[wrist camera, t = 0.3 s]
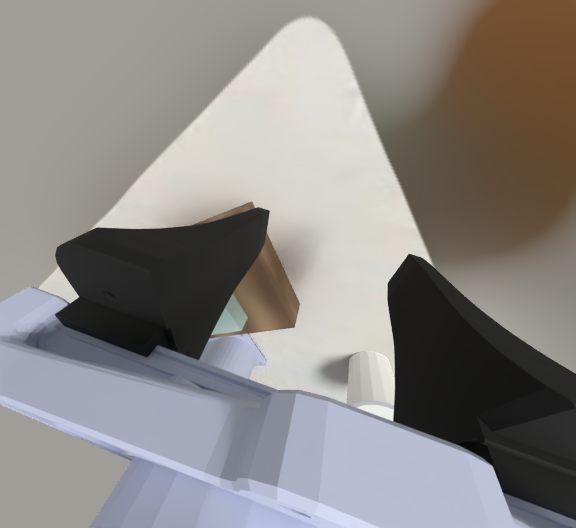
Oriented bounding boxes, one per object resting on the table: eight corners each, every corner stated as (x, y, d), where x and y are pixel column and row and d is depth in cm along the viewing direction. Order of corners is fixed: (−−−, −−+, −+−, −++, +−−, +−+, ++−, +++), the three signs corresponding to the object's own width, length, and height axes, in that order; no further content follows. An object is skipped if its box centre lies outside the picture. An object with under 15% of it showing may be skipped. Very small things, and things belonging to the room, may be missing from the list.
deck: (215, 318, 32) (201, 339, 29) (158, 238, 26) (132, 253, 23) (299, 303, 27) (294, 327, 24) (251, 201, 21) (235, 213, 18)
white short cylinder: (335, 362, 32) (334, 413, 26) (366, 341, 28) (373, 394, 22) (371, 383, 33) (378, 436, 27) (406, 364, 29) (423, 421, 23)
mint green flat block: (208, 324, 27) (200, 336, 25) (165, 266, 23) (151, 276, 21) (247, 317, 25) (241, 330, 23) (207, 252, 21) (195, 262, 19)
